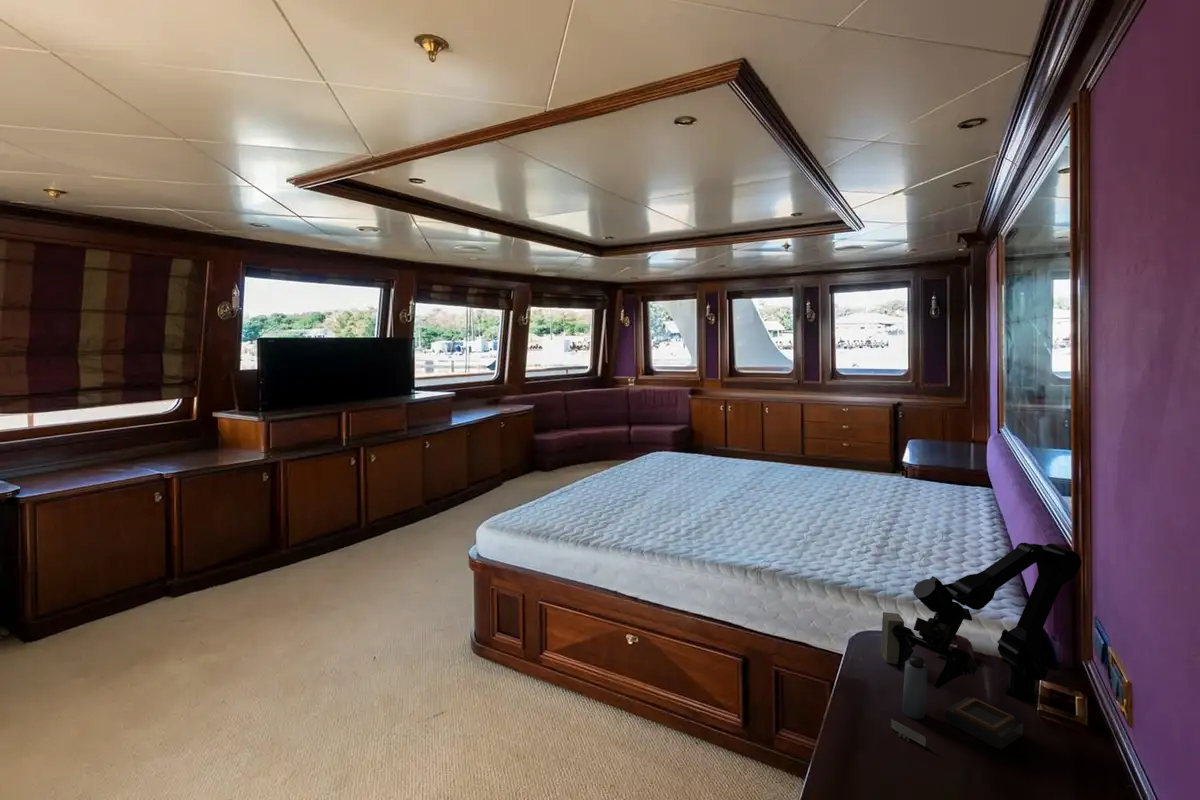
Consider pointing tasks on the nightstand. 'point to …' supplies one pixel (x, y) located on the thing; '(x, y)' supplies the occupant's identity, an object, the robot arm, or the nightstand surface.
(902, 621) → the skincare box
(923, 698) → the white capped bottle
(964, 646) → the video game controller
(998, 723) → the grey rectangular box
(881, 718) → the nightstand surface
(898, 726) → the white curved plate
